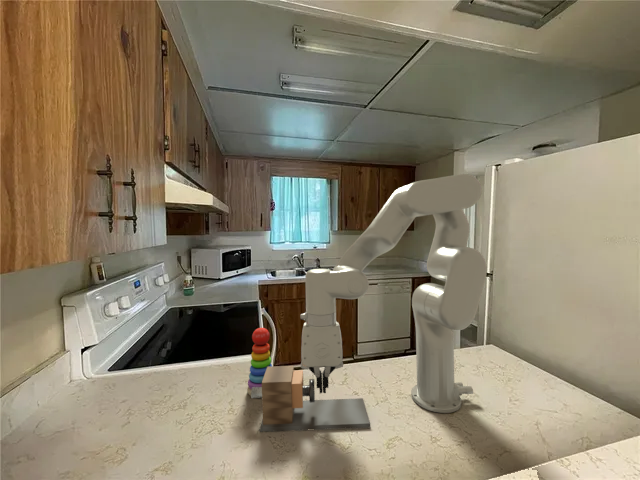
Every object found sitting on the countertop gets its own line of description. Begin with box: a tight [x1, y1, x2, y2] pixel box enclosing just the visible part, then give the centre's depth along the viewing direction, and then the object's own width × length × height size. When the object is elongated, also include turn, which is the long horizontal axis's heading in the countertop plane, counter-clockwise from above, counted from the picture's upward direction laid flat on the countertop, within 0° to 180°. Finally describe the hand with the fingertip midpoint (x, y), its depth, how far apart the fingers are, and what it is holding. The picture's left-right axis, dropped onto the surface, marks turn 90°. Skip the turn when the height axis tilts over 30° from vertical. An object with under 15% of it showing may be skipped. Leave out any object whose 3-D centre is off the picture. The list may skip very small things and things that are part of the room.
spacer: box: [292, 369, 305, 408], centre depth 69 cm, size 2×6×6 cm, turn 1°
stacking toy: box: [246, 327, 273, 397], centre depth 81 cm, size 8×8×19 cm
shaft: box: [250, 378, 316, 402], centre depth 69 cm, size 16×5×5 cm, turn 91°
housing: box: [259, 365, 371, 433], centre depth 70 cm, size 26×10×11 cm, turn 91°
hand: (322, 390), depth 69 cm, fingers closed
